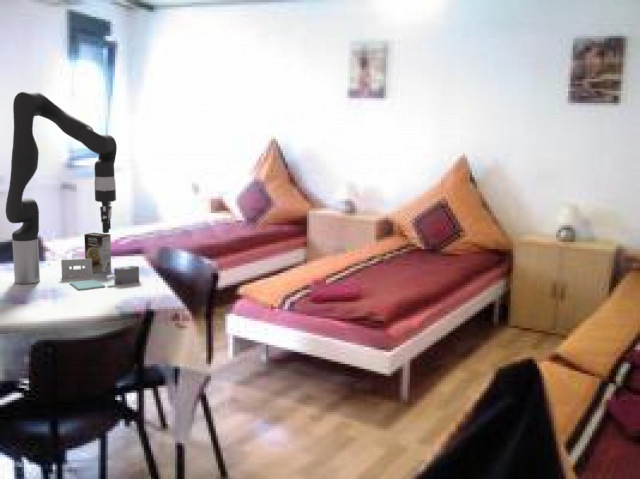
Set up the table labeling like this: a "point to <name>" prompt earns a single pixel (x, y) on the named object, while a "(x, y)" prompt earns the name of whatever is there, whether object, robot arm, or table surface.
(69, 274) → the cassette
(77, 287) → the teal rubber mat
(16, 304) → the table surface
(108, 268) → the coffee box
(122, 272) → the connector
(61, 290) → the table surface
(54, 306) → the table surface
